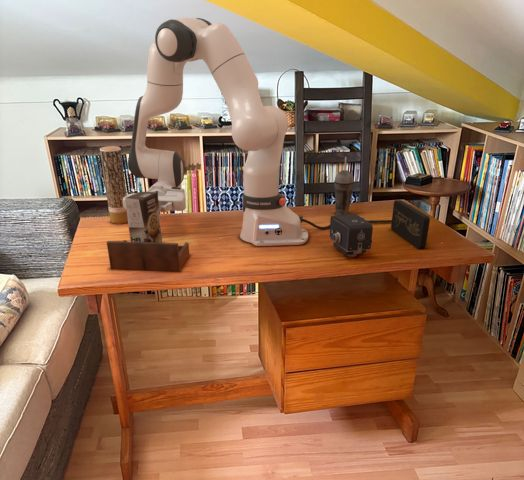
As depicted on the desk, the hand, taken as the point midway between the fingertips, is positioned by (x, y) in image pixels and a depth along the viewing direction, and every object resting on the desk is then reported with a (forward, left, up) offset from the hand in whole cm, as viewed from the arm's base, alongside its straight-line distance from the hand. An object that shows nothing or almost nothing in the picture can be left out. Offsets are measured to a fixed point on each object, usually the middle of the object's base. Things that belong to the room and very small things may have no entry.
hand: (148, 209), depth 168 cm
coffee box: (0, +5, -11) cm, 12 cm away
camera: (-63, +4, -11) cm, 64 cm away
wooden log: (+17, -20, -11) cm, 28 cm away
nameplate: (-82, -11, -11) cm, 84 cm away
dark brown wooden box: (-5, +18, -10) cm, 21 cm away
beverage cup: (-62, -37, -11) cm, 73 cm away
